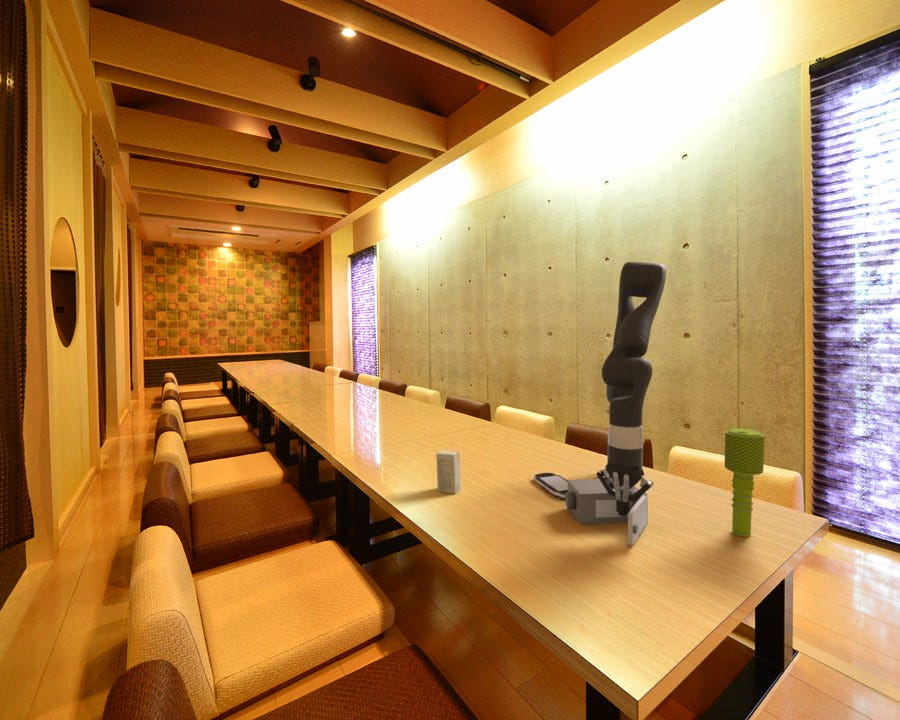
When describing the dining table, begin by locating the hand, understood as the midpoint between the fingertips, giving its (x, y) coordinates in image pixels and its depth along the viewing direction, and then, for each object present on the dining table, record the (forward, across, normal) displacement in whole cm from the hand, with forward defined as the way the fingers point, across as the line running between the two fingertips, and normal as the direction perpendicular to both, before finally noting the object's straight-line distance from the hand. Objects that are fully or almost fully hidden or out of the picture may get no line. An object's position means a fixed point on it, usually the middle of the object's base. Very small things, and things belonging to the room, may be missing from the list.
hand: (623, 514), depth 100 cm
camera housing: (+6, -8, +9) cm, 14 cm away
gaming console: (+7, -27, +18) cm, 34 cm away
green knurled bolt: (+6, +20, +21) cm, 30 cm away
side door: (+5, +3, +4) cm, 7 cm away
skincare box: (+6, -52, -5) cm, 52 cm away
